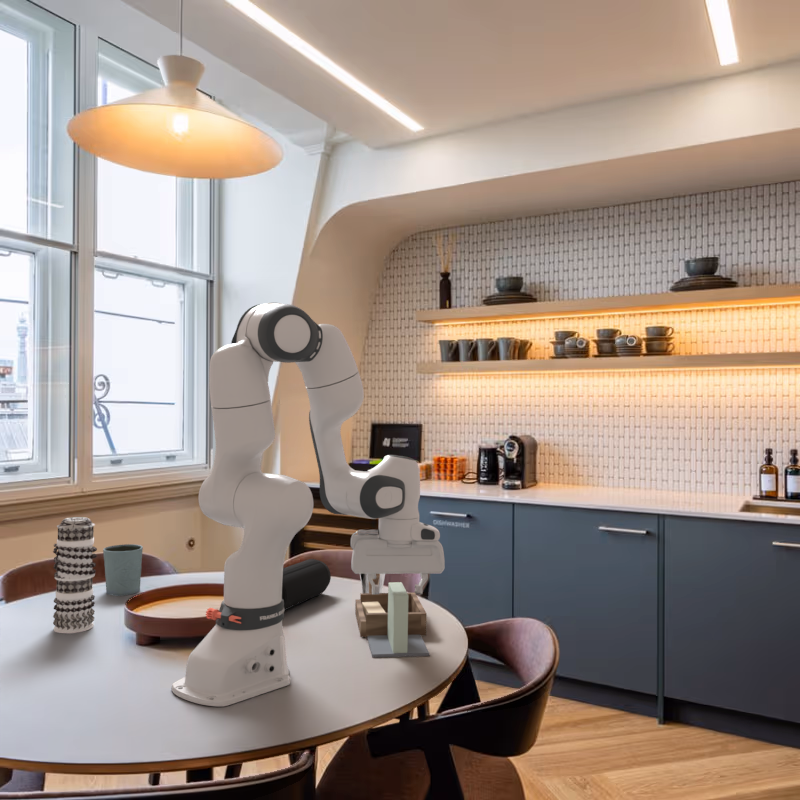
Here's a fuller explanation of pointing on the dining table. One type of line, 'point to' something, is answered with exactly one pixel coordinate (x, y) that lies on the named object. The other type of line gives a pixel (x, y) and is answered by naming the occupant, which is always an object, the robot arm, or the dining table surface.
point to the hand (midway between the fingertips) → (397, 593)
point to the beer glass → (377, 581)
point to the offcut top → (372, 607)
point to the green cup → (123, 569)
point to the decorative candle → (74, 576)
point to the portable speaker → (304, 581)
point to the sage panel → (397, 617)
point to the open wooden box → (379, 621)
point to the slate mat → (383, 648)
